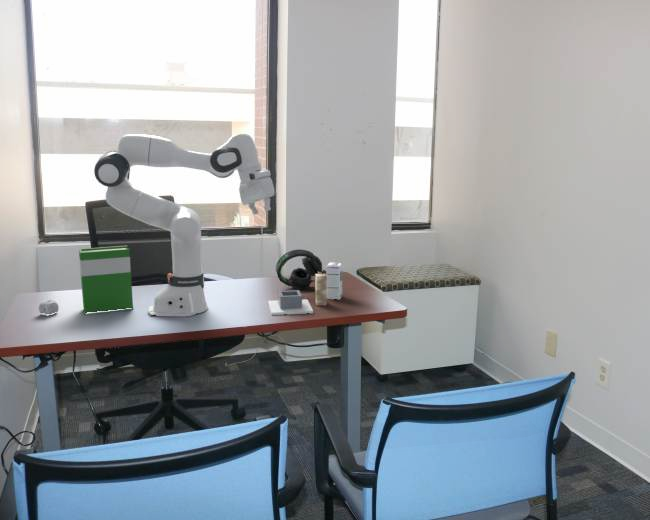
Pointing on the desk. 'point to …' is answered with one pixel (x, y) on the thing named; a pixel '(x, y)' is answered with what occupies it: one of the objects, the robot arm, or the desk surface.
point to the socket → (289, 304)
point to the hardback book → (106, 278)
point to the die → (48, 307)
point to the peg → (320, 289)
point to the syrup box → (334, 280)
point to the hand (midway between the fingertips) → (261, 212)
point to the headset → (300, 269)
